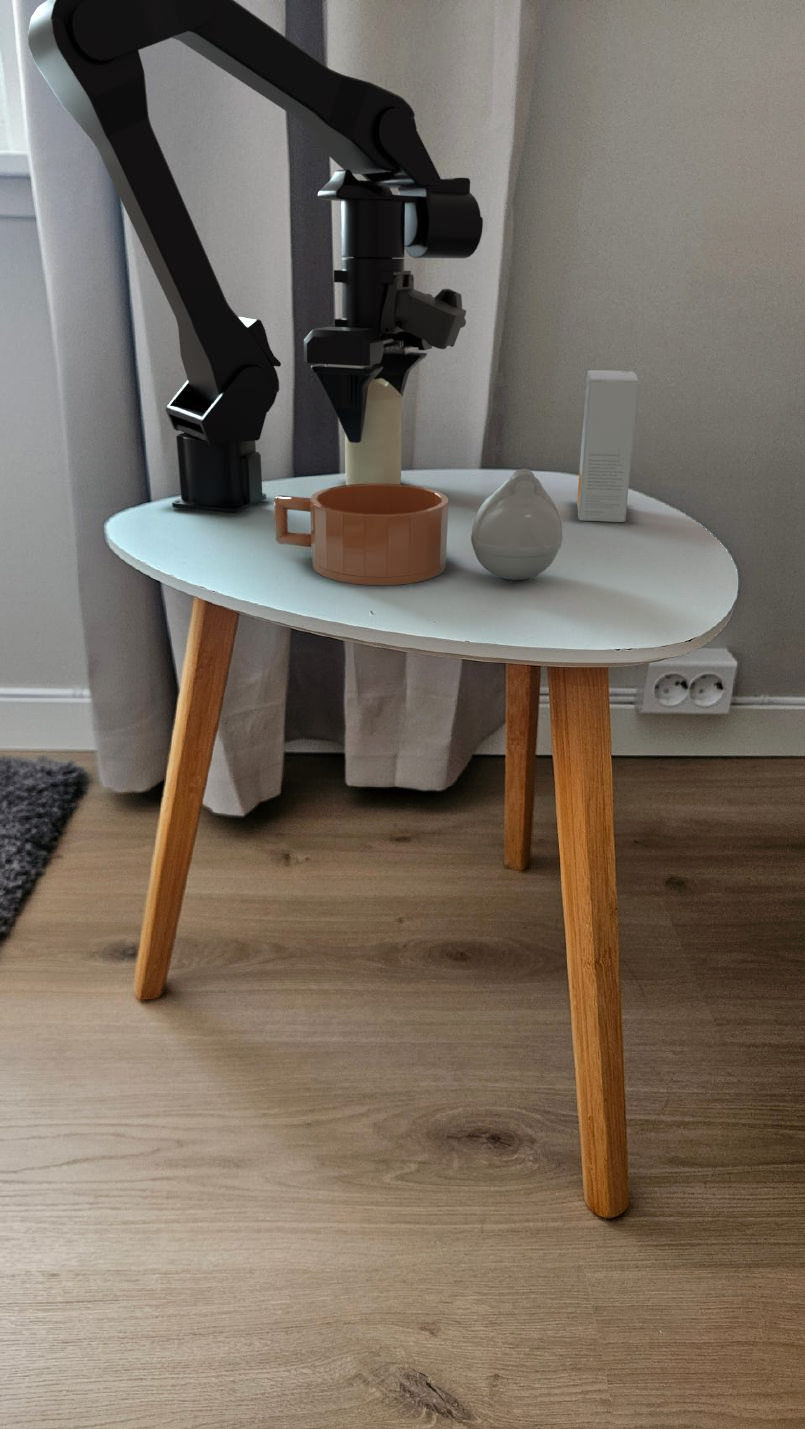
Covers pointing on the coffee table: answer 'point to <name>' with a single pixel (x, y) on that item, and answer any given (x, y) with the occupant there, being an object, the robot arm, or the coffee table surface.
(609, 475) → the cosmetic box
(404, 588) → the coffee table surface
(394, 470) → the candle
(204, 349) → the robot arm
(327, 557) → the coffee cup
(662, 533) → the coffee table surface
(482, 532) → the grey teardrop shape
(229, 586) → the coffee table surface
